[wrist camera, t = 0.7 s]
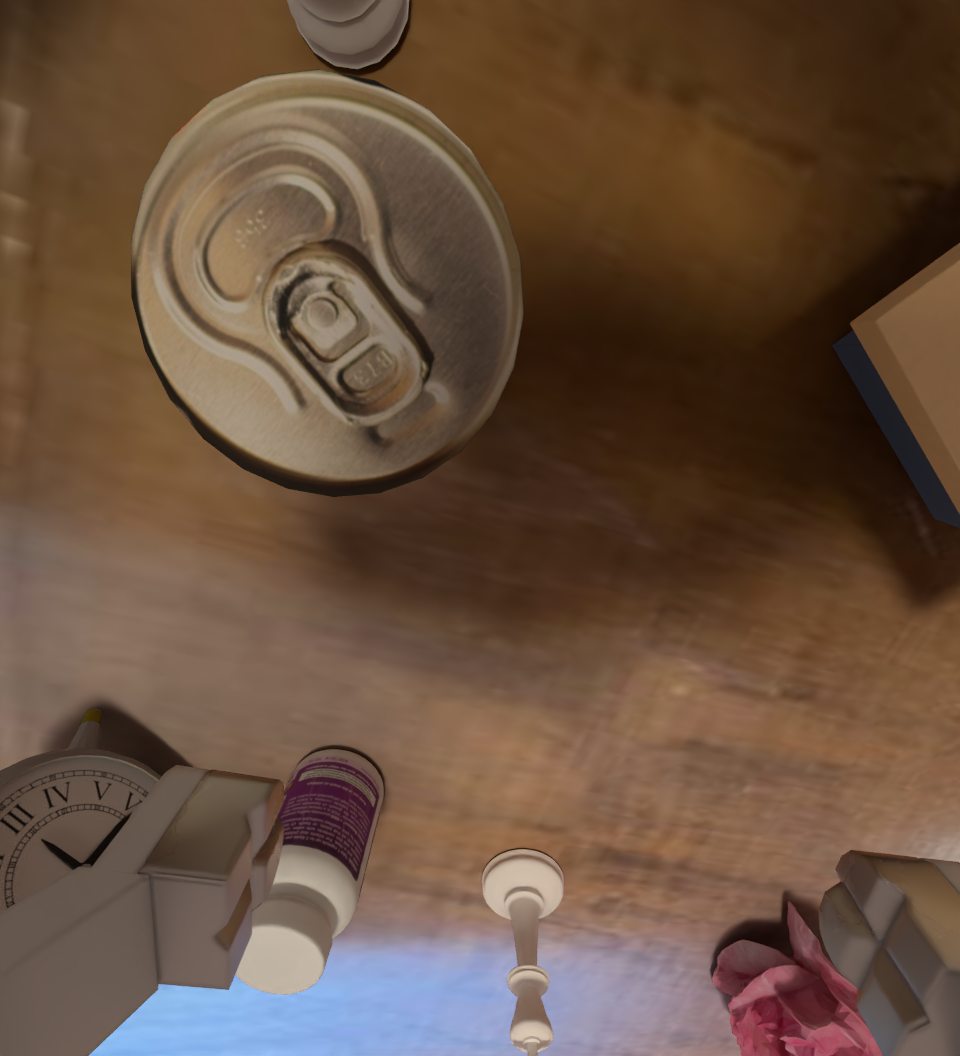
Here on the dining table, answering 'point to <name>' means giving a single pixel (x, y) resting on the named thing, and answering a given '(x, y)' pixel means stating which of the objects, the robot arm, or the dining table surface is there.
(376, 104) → the beverage can
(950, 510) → the board box
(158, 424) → the dining table surface
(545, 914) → the chess piece
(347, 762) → the pill bottle
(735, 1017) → the flower
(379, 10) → the rook chess piece
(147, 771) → the alarm clock
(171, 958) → the robot arm
